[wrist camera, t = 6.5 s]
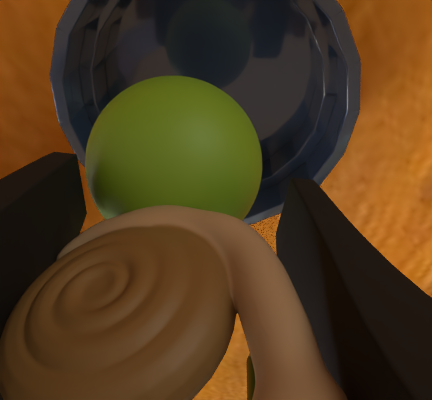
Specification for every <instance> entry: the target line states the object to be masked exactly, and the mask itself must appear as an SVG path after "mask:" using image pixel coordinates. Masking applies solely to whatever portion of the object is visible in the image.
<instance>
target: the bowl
mask: <svg viewBox="0 0 432 400" xmlns="http://www.w3.org/2000/svg"><path fill="white" fill-rule="evenodd" d="M360 60H361V59H360V57H359V54H358V51H357V48H356V45H355V42H354V39H353V36H352V33H351V30H350V27H349V24H348V21H347V18H346V15H345V12H344V10H342V7H341V6H340V4H339V3H338V2H337V1H336V0H71V1H70V2H69V4H68V6H67V8H66V10H65V12H64V13H63V15H62V17H61V19H60V21H59V23H58V24H57V28H56V33H55V40H54V47H53V55H52V62H51V69H50V81H51V86H52V92H53V97H54V102H55V107H56V112H57V117H58V121H59V124H60V126H61V128H62V130H63V132H64V134H65V136H66V138H67V139H68V141H69V143H70V145H71V147H72V149H73V151H74V153H75V154H77V158H78V160H80V163H81V164H82V165H83V166H84V167H85V155H86V147H87V143H88V139H89V136H90V133H91V130H92V128H93V126H94V123H95V122H96V120H97V118H98V116H99V115H100V113H101V112H102V111H103V109H104V108H105V107H106V106H107V104H108V103H109V102H110V101H111V100H112V99H113V98H115V97H116V96H117V95H118V94H119V93H121V92H122V91H124V90H125V89H127V88H128V87H130V86H132V85H134V84H136V83H138V82H141V81H144V80H147V79H150V78H154V77H160V76H186V77H191V78H196V79H199V80H202V81H205V82H207V83H210V84H212V85H214V86H216V87H217V88H219V89H221V90H222V91H224V92H225V93H226V94H228V95H229V96H230V97H231V98H233V99H234V100H235V101H236V102H237V103H238V104H239V106H240V107H241V108H242V109H243V110H244V112H245V113H246V114H247V116H248V117H249V119H250V121H251V122H252V124H253V126H254V129H255V131H256V133H257V136H258V139H259V143H260V147H261V153H262V177H261V183H260V187H259V191H258V194H257V196H256V199H255V201H254V203H253V205H252V207H251V209H250V211H249V212H248V214H247V215H246V217H245V218H244V219H243V220H242V221H243V222H245V223H247V224H248V225H251V224H254V223H256V222H259V221H262V220H264V219H267V218H269V217H272V216H274V215H277V214H279V213H282V209H283V205H284V202H285V198H286V194H287V190H288V187H289V183H290V179H291V177H292V178H302V179H311V180H314V181H315V182H316V183H317V184H318V185H319V186H320V185H321V184H322V182H323V181H324V180H325V178H326V177H327V176H328V174H329V173H330V172H331V170H332V169H333V168H334V167H335V165H336V164H337V163H338V161H339V160H340V159H341V157H342V156H343V155H344V153H345V151H346V148H347V145H348V142H349V140H350V137H351V134H352V131H353V129H354V126H355V123H356V120H357V117H358V115H359V110H360V86H361V62H360Z"/></svg>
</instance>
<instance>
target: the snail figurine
mask: <svg viewBox="0 0 432 400" xmlns="http://www.w3.org/2000/svg"><path fill="white" fill-rule="evenodd" d="M85 171H86V178H87V183H88V187H89V190H90V193H91V196H92V198H93V201H94V203H95V205H96V206H97V208H98V210H99V211H100V213H101V214H102V216H103V217H104V218H105V220H104V221H101V222H99V223H97V224H95V225H93V226H92V227H90V228H88V229H87V230H85V231H84V232H82V233H81V234H80V235H78V236H77V237H76V238H74V239H73V240H72V241H71V242H69V243H68V244H67V245H66V246H65V247H64V248H63V249H62V250H61V251H60V253H59V254H58V256H57V261H56V262H54V263H53V264H52V265H51V266H49V267H48V268H47V269H46V270H45V271H44V272H43V273H41V274H40V275H39V276H38V277H37V279H36V280H35V281H34V282H33V283H32V284H31V285H30V286H29V287H28V288H27V290H26V291H25V292H24V294H23V295H22V296H21V298H20V299H19V300H18V302H17V303H16V305H15V307H14V308H13V310H12V312H11V314H10V316H9V318H8V320H7V322H6V324H5V327H4V330H3V333H2V336H1V339H0V393H1V395H2V398H3V400H192V399H193V398H194V397H195V396H196V395H197V394H198V392H199V391H200V390H201V389H202V388H203V387H204V386H205V384H206V383H207V382H208V381H209V380H210V379H211V377H212V376H213V374H214V372H215V371H216V369H217V367H218V366H219V364H220V362H221V360H222V359H223V357H224V355H225V353H226V351H227V348H228V345H229V342H230V339H231V336H232V333H233V330H234V325H235V319H236V314H237V313H238V314H239V317H240V321H241V324H242V327H243V330H244V334H245V337H246V340H247V344H248V348H249V351H250V355H251V359H252V363H253V367H254V372H255V390H254V394H253V398H252V400H347V397H346V395H345V393H344V392H343V390H342V389H341V388H340V386H339V385H338V384H337V382H336V381H335V380H334V378H333V377H332V376H331V374H330V373H329V371H328V369H327V367H326V365H325V363H324V361H323V358H322V356H321V353H320V350H319V347H318V344H317V340H316V337H315V334H314V332H313V329H312V326H311V324H310V321H309V319H308V316H307V314H306V312H305V310H304V308H303V306H302V303H301V301H300V299H299V297H298V295H297V292H296V290H295V288H294V286H293V284H292V282H291V280H290V278H289V276H288V274H287V272H286V270H285V268H284V266H283V264H282V263H281V261H280V260H279V258H278V257H277V255H276V254H275V252H274V251H273V250H272V248H271V247H270V246H269V244H268V243H267V242H266V241H265V239H264V238H263V237H262V236H261V235H260V234H259V233H258V232H257V231H255V230H254V229H253V228H252V227H251V226H250V225H248V224H247V223H245V222H243V221H242V220H243V219H244V218H245V217H246V215H247V214H248V212H249V211H250V209H251V207H252V205H253V203H254V201H255V199H256V196H257V194H258V191H259V187H260V183H261V177H262V153H261V147H260V143H259V139H258V136H257V133H256V131H255V129H254V126H253V124H252V122H251V121H250V119H249V117H248V116H247V114H246V113H245V112H244V110H243V109H242V108H241V107H240V106H239V104H238V103H237V102H236V101H235V100H234V99H233V98H231V97H230V96H229V95H228V94H226V93H225V92H224V91H222V90H221V89H219V88H217V87H216V86H214V85H212V84H210V83H207V82H205V81H202V80H199V79H196V78H191V77H186V76H160V77H154V78H150V79H147V80H144V81H141V82H138V83H136V84H134V85H132V86H130V87H128V88H127V89H125V90H124V91H122V92H121V93H119V94H118V95H117V96H116V97H115V98H113V99H112V100H111V101H110V102H109V103H108V104H107V106H106V107H105V108H104V109H103V111H102V112H101V113H100V115H99V116H98V118H97V120H96V122H95V123H94V126H93V128H92V130H91V133H90V136H89V139H88V143H87V147H86V155H85Z"/></svg>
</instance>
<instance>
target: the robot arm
mask: <svg viewBox="0 0 432 400" xmlns="http://www.w3.org/2000/svg"><path fill="white" fill-rule="evenodd" d="M86 214H87V211H86V205H85V200H84V194H83V188H82V182H81V176H80V170H79V164H78V159H77V154H69V153H60V152H53V153H50V154H48V155H46V156H44V157H42V158H40V159H38V160H36V161H34V162H32V163H30V164H28V165H26V166H24V167H23V168H21V169H19V170H17V171H15V172H13V173H11V174H9V175H8V176H6V177H4V178H2V179H0V339H1V336H2V333H3V330H4V327H5V324H6V322H7V320H8V318H9V316H10V314H11V312H12V310H13V308H14V307H15V305H16V303H17V302H18V300H19V299H20V298H21V296H22V295H23V294H24V292H25V291H26V290H27V288H28V287H29V286H30V285H31V284H32V283H33V282H34V281H35V280H36V279H37V277H38V276H39V275H40V274H41V273H43V272H44V271H45V270H46V269H47V268H48V267H49V266H51V265H52V264H53V263H54V262H56V261H57V256H58V254H59V253H60V251H61V250H62V249H63V248H64V247H65V246H66V245H67V244H68V243H69V242H71V241H72V240H73V239H74V238H76V237H77V236H78V235H79V234H80V231H81V228H82V226H83V223H84V220H85V217H86ZM276 251H277V257H278V258H279V260H280V261H281V263H282V264H283V266H284V268H285V270H286V272H287V274H288V276H289V278H290V280H291V282H292V284H293V286H294V288H295V290H296V292H297V295H298V297H299V299H300V301H301V303H302V306H303V308H304V310H305V312H306V314H307V316H308V319H309V321H310V324H311V326H312V329H313V332H314V334H315V337H316V340H317V344H318V347H319V350H320V353H321V356H322V358H323V361H324V363H325V365H326V367H327V369H328V371H329V373H330V374H331V376H332V377H333V378H334V380H335V381H336V382H337V384H338V385H339V386H340V388H341V389H342V390H343V392H344V393H345V395H346V397H347V400H432V298H431V297H430V296H429V295H427V294H426V293H425V292H424V291H422V290H421V289H420V288H419V287H418V286H416V285H415V284H414V283H413V282H412V281H411V280H409V279H408V278H407V277H406V276H405V275H403V274H402V273H401V272H400V271H399V270H398V269H397V268H396V267H394V266H393V265H392V264H391V263H390V262H389V261H388V260H387V259H386V258H385V257H384V256H383V255H382V254H381V253H380V252H379V251H378V250H377V249H376V248H375V247H374V246H373V245H372V244H371V243H369V241H368V240H367V239H366V238H365V237H364V236H363V235H362V234H361V233H360V232H359V231H358V230H357V229H356V228H355V227H354V226H353V224H352V223H351V222H350V221H349V220H348V219H347V218H346V217H345V216H344V214H343V213H342V212H341V211H340V210H339V209H338V208H337V206H336V205H335V204H334V203H333V202H332V201H331V199H330V198H329V197H328V196H327V195H326V193H325V192H324V191H323V190H322V189H321V188H320V186H319V185H318V184H317V183H316V182H315V181H314V180H311V179H302V178H292V177H291V179H290V183H289V187H288V190H287V194H286V198H285V202H284V205H283V209H282V213H281V217H280V220H279V224H278V228H277V232H276ZM0 400H3V398H2V395H1V393H0Z"/></svg>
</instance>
